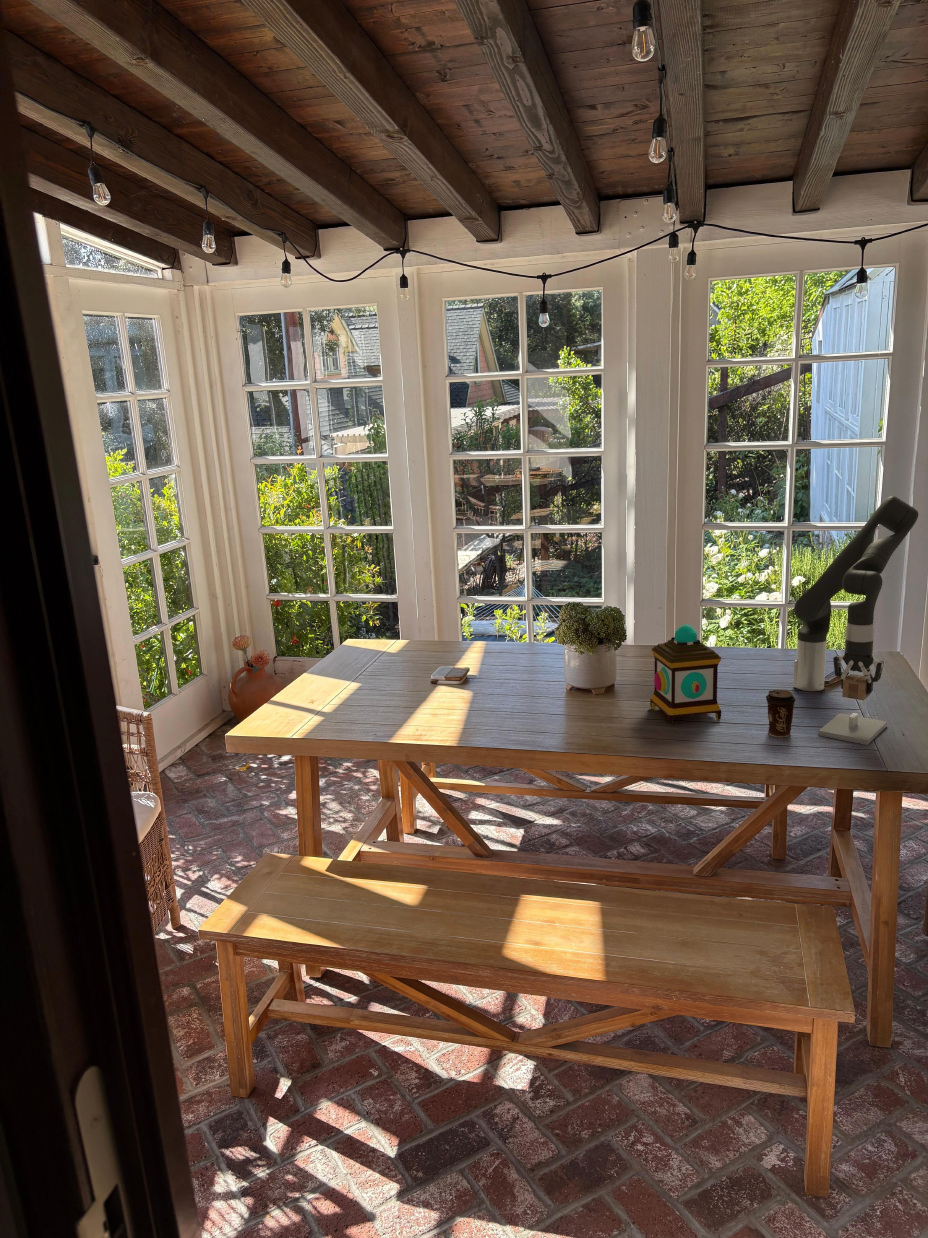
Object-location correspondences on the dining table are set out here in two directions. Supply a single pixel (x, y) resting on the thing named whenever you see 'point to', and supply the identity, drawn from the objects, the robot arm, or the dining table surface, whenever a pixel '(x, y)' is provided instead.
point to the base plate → (853, 729)
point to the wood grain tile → (853, 720)
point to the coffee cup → (780, 712)
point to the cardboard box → (855, 687)
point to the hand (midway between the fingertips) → (856, 692)
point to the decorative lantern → (685, 676)
